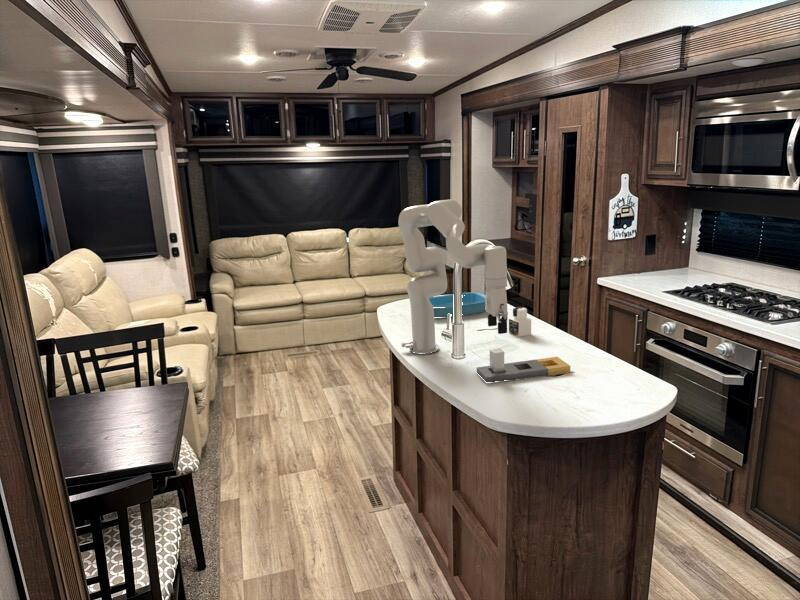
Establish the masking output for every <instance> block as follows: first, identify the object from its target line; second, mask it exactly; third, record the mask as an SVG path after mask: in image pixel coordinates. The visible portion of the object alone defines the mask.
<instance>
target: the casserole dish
mask: <svg viewBox="0 0 800 600" xmlns="http://www.w3.org/2000/svg"><path fill="white" fill-rule="evenodd" d="M461 293H462V295H463V298H462V302H463V305H462V314H463V315H464V316H468V315H467V314H471V315H475V313H477V314H480V313H482V312H483V311H484V310H485V294H483V293H478V292H473V291H472V292H469V291H468V292H461ZM464 295H465V296H464ZM429 301H430V302H431V304H432V305H433V307H445V308H434V317H447V314H448V313H450V314H452V317H451V318H454V317H453V293H452V294H446V295H444V294H443V295H438V296H434V297H430V298H429Z"/></svg>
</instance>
